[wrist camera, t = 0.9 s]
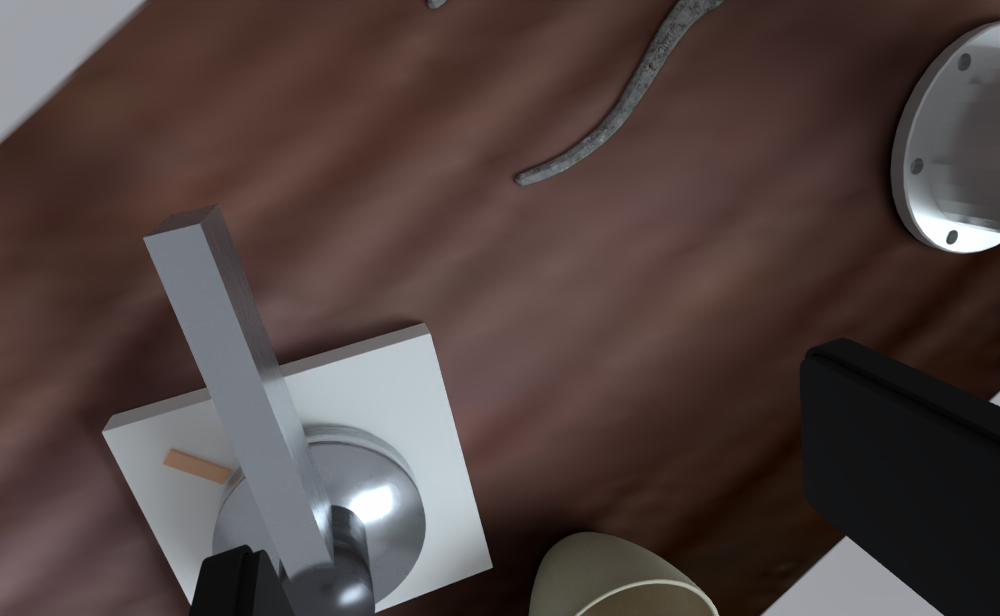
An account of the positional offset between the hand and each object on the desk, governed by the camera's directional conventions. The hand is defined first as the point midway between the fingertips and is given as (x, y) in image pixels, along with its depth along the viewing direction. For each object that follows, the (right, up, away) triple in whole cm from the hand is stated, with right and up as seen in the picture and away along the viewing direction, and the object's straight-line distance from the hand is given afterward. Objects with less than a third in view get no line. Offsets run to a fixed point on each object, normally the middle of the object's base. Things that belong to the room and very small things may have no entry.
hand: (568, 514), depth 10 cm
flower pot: (+3, -12, +27) cm, 30 cm away
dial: (-10, -2, +17) cm, 20 cm away
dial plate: (-10, -6, +21) cm, 24 cm away
